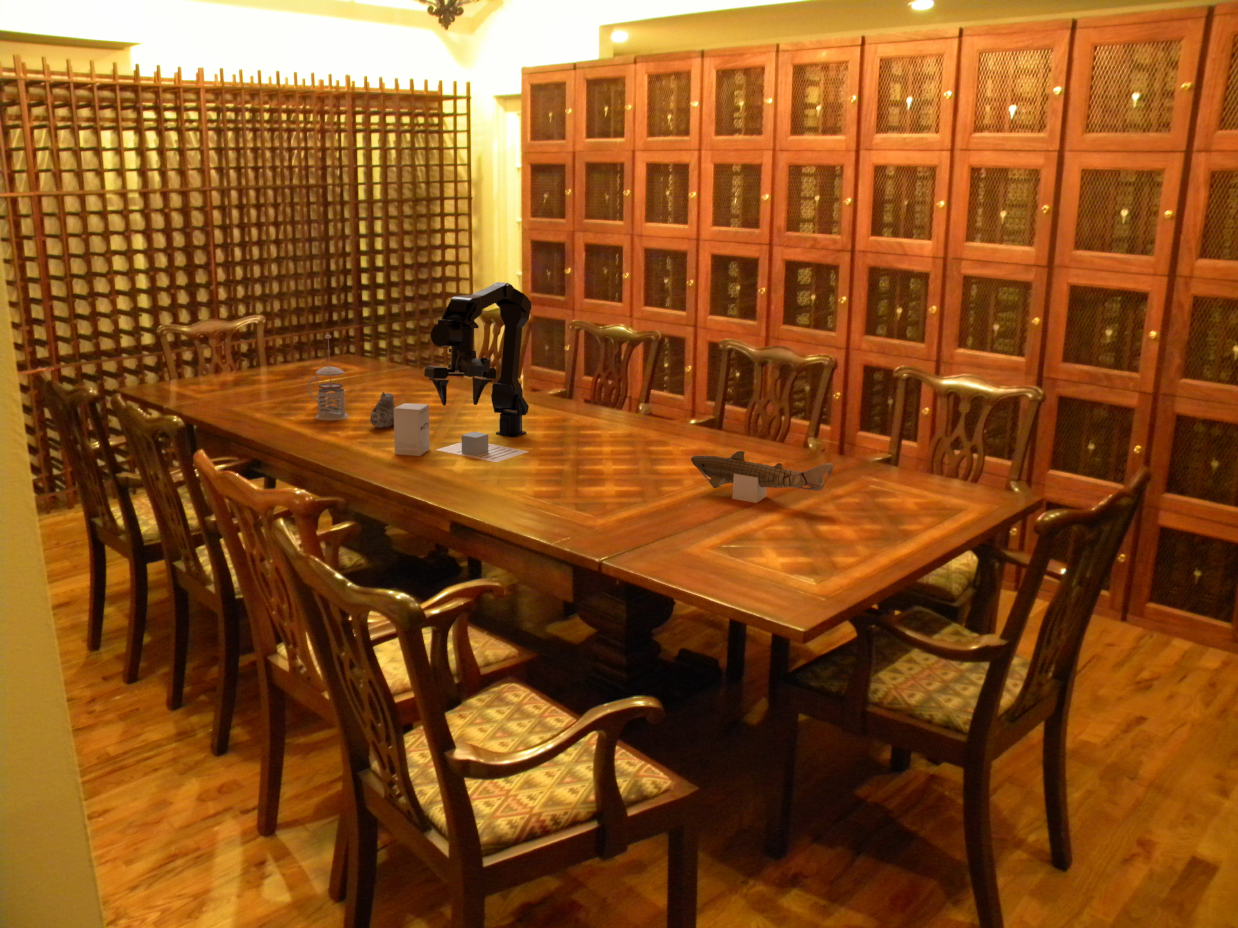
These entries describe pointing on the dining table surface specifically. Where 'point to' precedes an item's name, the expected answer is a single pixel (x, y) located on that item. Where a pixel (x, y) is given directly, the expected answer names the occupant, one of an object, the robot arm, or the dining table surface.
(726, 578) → the dining table surface
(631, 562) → the dining table surface
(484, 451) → the cube
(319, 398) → the french press
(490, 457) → the letter
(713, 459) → the wood carving
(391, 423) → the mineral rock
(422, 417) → the supplement box
